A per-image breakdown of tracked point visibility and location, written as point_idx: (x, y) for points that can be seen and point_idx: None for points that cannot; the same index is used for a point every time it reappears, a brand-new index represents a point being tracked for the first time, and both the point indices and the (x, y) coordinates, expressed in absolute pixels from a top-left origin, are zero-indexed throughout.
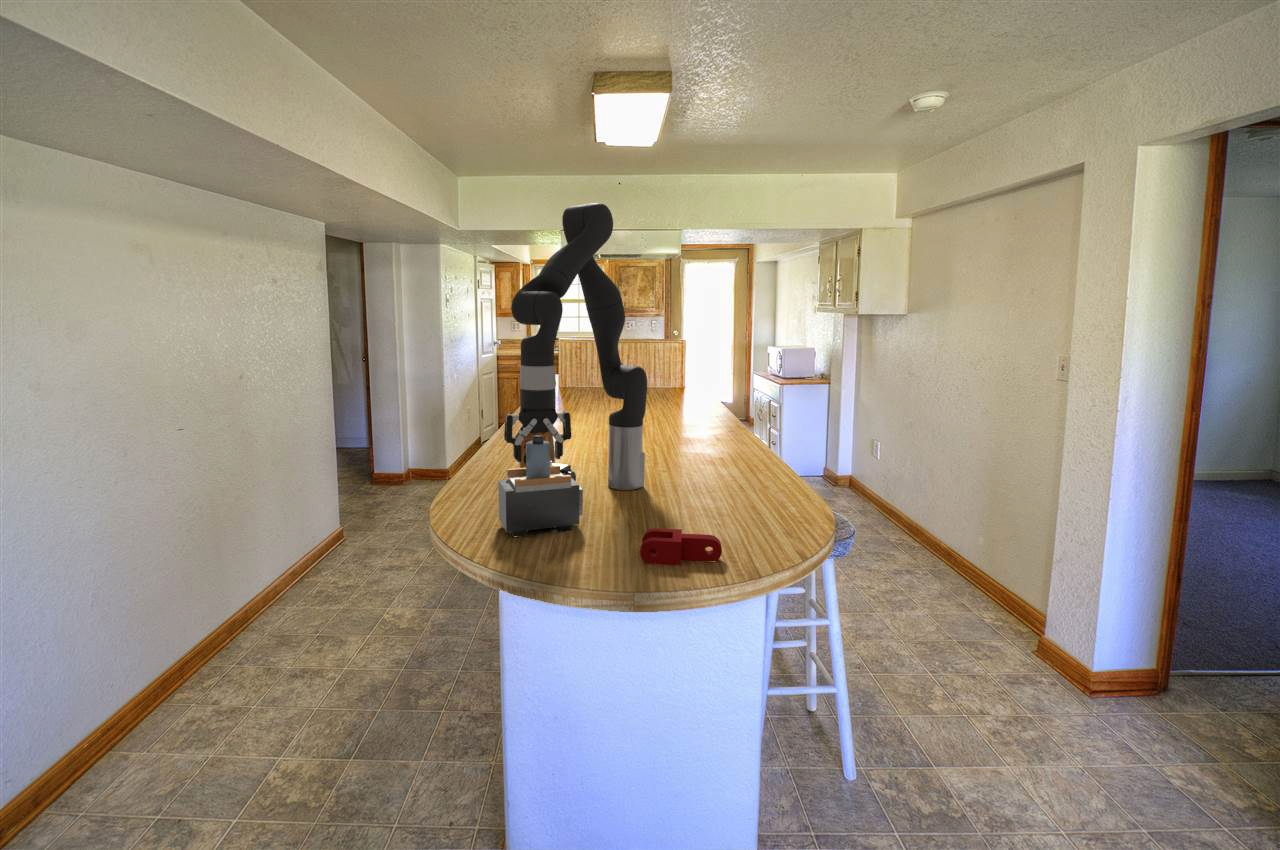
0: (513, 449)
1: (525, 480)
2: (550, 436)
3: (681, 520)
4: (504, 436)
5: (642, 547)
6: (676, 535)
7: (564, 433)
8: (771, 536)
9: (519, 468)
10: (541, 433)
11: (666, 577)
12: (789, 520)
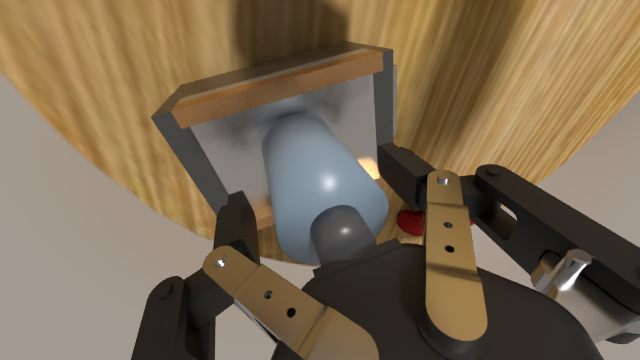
0: (215, 237)
1: (271, 224)
2: None
3: (511, 74)
4: (149, 315)
5: (404, 230)
6: None
7: (486, 199)
8: (549, 142)
9: (226, 103)
10: None
11: (402, 239)
12: (616, 85)
